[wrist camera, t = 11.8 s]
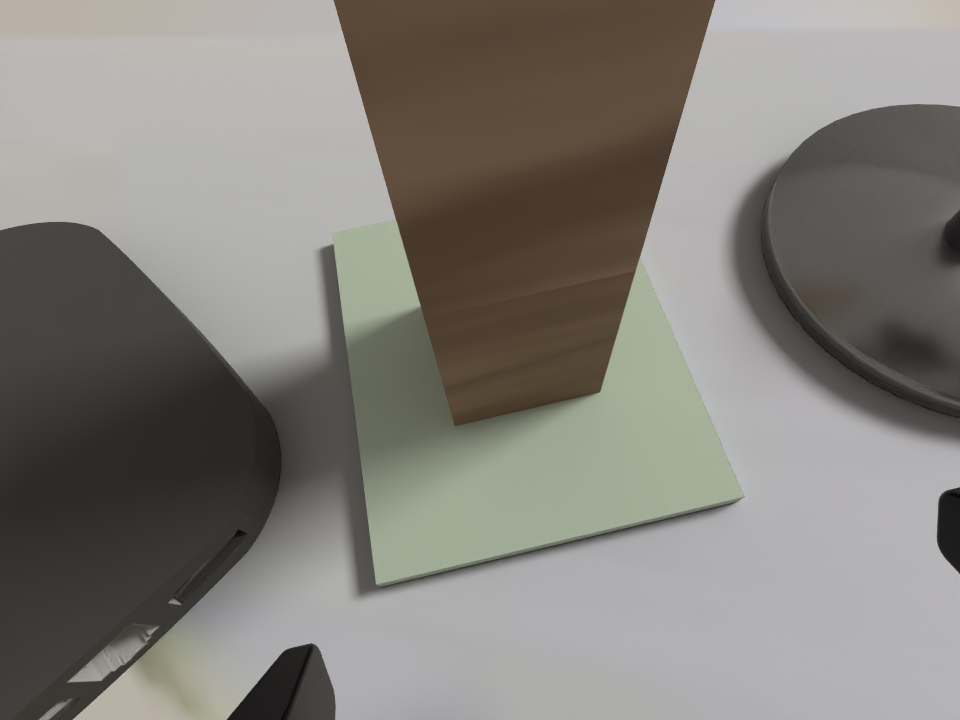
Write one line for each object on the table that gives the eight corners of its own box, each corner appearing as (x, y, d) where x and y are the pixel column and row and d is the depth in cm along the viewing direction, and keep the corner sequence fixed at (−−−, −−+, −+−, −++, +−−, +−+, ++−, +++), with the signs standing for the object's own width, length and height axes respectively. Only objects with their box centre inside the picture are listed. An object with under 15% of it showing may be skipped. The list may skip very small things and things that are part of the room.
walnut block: (600, 392, 17) (763, -163, 6) (454, 426, 17) (312, -77, 5) (558, 274, 19) (613, -311, 8) (427, 303, 19) (282, -252, 7)
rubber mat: (738, 501, 16) (744, 496, 15) (380, 586, 15) (376, 584, 15) (602, 185, 21) (604, 175, 21) (336, 242, 21) (332, 233, 21)
